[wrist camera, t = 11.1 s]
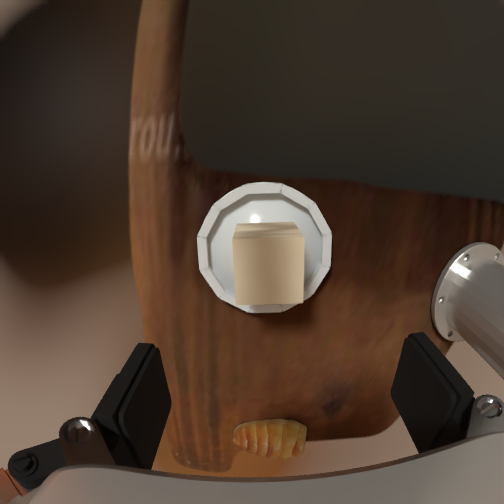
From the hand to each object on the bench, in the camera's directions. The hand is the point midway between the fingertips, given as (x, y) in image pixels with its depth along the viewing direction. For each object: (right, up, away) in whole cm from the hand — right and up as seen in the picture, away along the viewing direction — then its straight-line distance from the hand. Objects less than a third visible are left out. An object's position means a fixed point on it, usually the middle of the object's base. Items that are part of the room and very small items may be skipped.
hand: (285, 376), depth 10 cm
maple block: (0, +5, +17) cm, 18 cm away
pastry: (+2, -20, +25) cm, 32 cm away
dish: (0, +5, +18) cm, 18 cm away
